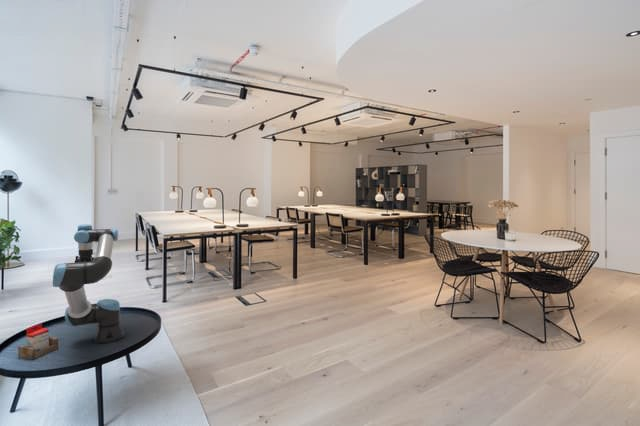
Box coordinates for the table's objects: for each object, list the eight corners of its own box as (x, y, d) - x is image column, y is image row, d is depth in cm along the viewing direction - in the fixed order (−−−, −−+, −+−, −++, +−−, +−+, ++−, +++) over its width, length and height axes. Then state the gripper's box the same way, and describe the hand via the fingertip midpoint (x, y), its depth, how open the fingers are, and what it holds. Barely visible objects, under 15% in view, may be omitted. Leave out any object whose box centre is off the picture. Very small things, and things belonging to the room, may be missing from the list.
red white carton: (33, 356, 182) (32, 330, 181) (26, 355, 183) (25, 328, 182) (49, 349, 191) (48, 323, 189) (42, 347, 192) (41, 322, 191)
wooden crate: (58, 348, 192) (57, 338, 192) (33, 360, 179) (32, 349, 179) (44, 346, 195) (43, 336, 194) (18, 357, 182) (18, 346, 181)
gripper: (106, 249, 214) (107, 281, 216) (75, 246, 220) (76, 278, 221) (96, 251, 207) (97, 285, 208) (64, 248, 213) (65, 281, 214)
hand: (86, 281), depth 215 cm, fingers open, 13 cm apart
